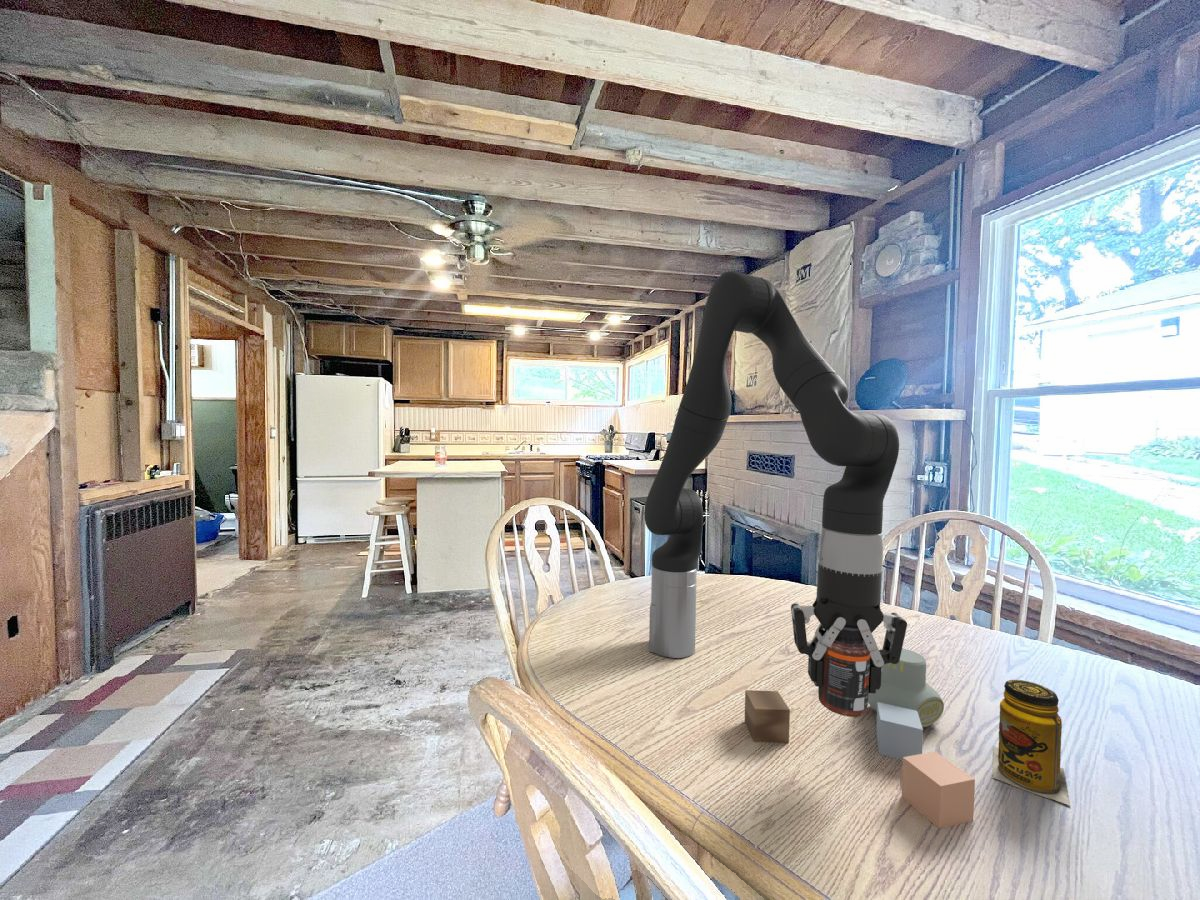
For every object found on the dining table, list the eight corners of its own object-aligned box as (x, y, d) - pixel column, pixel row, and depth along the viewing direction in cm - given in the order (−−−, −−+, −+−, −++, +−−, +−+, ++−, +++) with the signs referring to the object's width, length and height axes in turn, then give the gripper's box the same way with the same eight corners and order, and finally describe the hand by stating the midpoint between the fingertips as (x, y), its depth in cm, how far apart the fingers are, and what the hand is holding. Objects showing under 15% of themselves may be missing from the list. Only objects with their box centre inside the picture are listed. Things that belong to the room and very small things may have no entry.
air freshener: (904, 740, 70) (907, 673, 70) (854, 709, 78) (856, 649, 77) (950, 723, 75) (953, 660, 74) (899, 696, 82) (901, 639, 82)
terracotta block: (939, 829, 54) (940, 786, 54) (901, 796, 59) (902, 757, 59) (973, 821, 56) (975, 779, 55) (933, 790, 60) (935, 751, 60)
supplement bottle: (874, 722, 60) (879, 635, 60) (824, 716, 62) (828, 630, 61) (858, 696, 66) (863, 617, 66) (813, 691, 68) (816, 612, 67)
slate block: (879, 754, 67) (880, 719, 67) (876, 734, 71) (877, 701, 71) (921, 765, 65) (923, 729, 65) (915, 744, 69) (917, 710, 69)
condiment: (992, 779, 62) (996, 689, 62) (993, 747, 69) (996, 665, 68) (1070, 808, 58) (1075, 710, 57) (1063, 770, 64) (1067, 683, 64)
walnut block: (754, 742, 69) (755, 708, 69) (744, 721, 74) (745, 690, 74) (788, 743, 69) (789, 709, 69) (776, 722, 74) (777, 691, 74)
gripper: (797, 567, 61) (792, 695, 62) (923, 576, 58) (915, 710, 59) (786, 552, 68) (781, 667, 69) (897, 559, 65) (890, 679, 66)
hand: (843, 686), depth 64 cm, fingers closed on supplement bottle, 6 cm apart
